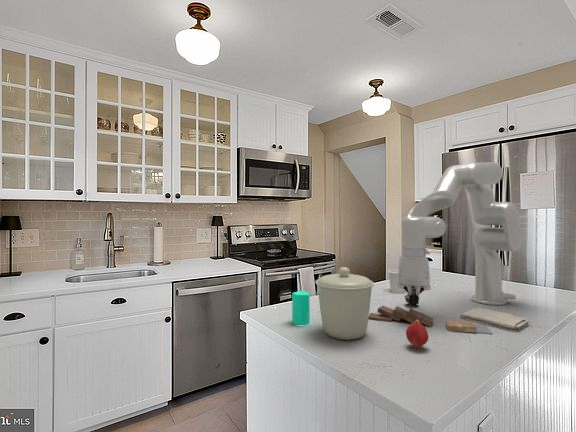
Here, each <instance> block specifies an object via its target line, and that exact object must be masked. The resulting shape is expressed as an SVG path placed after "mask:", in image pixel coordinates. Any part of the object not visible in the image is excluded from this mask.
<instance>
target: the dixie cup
mask: <svg viewBox="0 0 576 432" xmlns="http://www.w3.org/2000/svg"><path fill="white" fill-rule="evenodd" d="M387 272H388V278H389V279H388V280H389V286H390V292H391V293H394V294H403V293H404V291H405V290H404V289H401V288H398V287H397V285H398V269H388V270H387Z"/></svg>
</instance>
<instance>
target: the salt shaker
mask: <svg viewBox="0 0 576 432" xmlns="http://www.w3.org/2000/svg"><path fill="white" fill-rule="evenodd" d="M411 289H412V292H413V294H414V293H415V291H416V286H411ZM403 297H404V300H405V302H406V303H405V304H404V306H405V307H406V308H412V309H414V308H416V309H417V308H419V304H417V307H414V306H413V307H412V306H411V304H410V303H409V294H408V293H407V294H406V295H404V296H403ZM419 299H420V296H419Z"/></svg>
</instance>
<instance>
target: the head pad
mask: <svg viewBox="0 0 576 432" xmlns="http://www.w3.org/2000/svg"><path fill="white" fill-rule="evenodd" d="M474 325H475V326H476V330H477V332H473V334H474V333H476V334H485V335H493V332H492V331H491V329H490V328H489V327H488V325H485V324H481V323H474Z"/></svg>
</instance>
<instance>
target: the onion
mask: <svg viewBox="0 0 576 432" xmlns="http://www.w3.org/2000/svg"><path fill="white" fill-rule="evenodd" d="M405 335H406V339H407V341H408V342H409V343H410V344H411V346H413V347H414V348H415V349H420V348H422V347H423V346H424V345H425V344H427V342H428V341H429V338H430V337H429V332H428V330H427V327H425V325H424V324H423V323H421V322H419V320H416V321H415V322H414V323H410V324H409V325H408V327H407V328H406V330H405Z"/></svg>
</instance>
